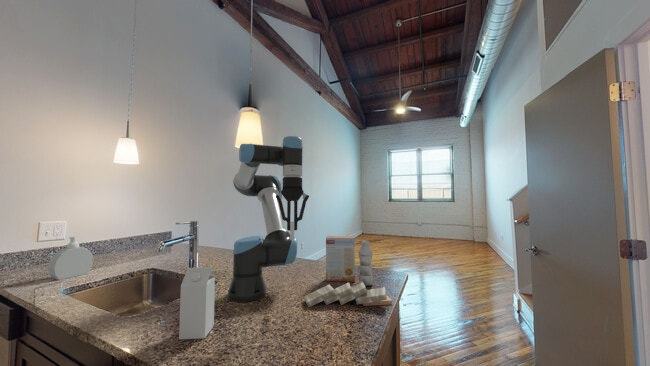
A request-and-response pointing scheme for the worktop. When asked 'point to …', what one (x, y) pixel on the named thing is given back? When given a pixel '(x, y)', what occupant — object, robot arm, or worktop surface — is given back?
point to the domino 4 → (372, 296)
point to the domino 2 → (339, 293)
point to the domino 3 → (354, 293)
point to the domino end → (379, 302)
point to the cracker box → (340, 258)
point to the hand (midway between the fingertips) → (292, 239)
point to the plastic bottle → (365, 264)
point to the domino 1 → (319, 295)
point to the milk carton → (197, 303)
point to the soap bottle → (70, 261)
